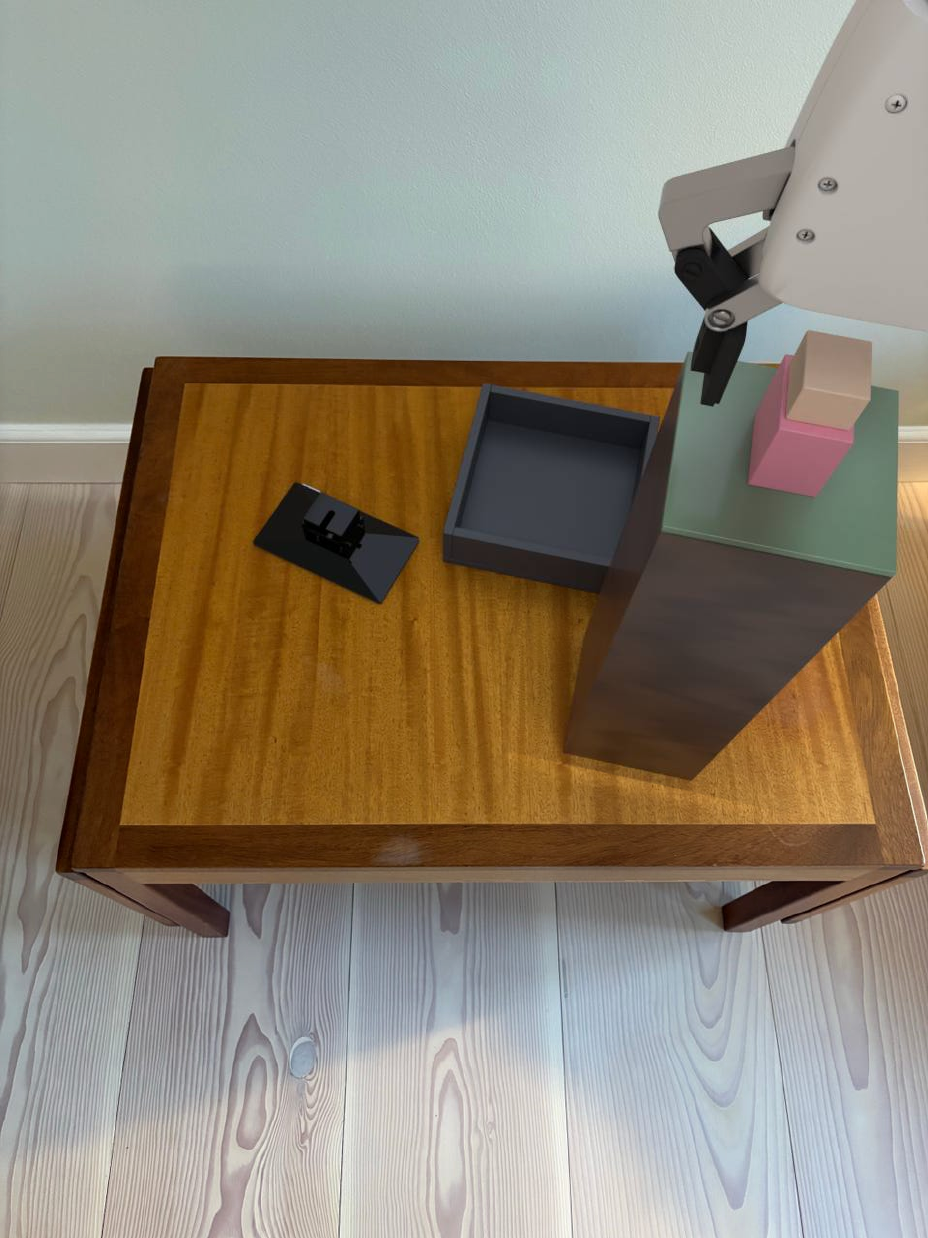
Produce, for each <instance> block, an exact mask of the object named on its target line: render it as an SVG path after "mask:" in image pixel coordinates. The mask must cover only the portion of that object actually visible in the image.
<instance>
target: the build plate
mask: <svg viewBox="0 0 928 1238" xmlns="http://www.w3.org/2000/svg"><path fill="white" fill-rule="evenodd" d="M252 543H253V545H254V547H256V548H259V549H260V550H264V551H265V552H267V553H269V554H272V555H274V556H275V557H278V558H280V559H282V560H284V561H287V563H288V562H289V563H291V564H292V565H295V566H296V567H299V568H301V569H303V570H305V571H308V572H309V573H312V574H314V575H316V576H317V577H321V578H322V579H324V580H327V581H328V582H330V583H332V584H334V585H337V586H339V587H341V588H343V589H345V590H348V591H350V592H352V593H353V594H356V595H359V596H361V597H363V598H365V599H366V600H369V601H371V602H373V603H375V604H378V605H381V604H383V602H384V601H385V599H386V597H387V595H388V594H389V592H390V591H391V589H392V587H393V586H394V584H395V582H396V581H397V579H398V578H399V576H400V574H401V572H402V571H403V569H404V568H405V566H406V565H407V563H408V561H409V559H410V558H411V556H412V555H413V553H414V551H415V550H416V548H417V546H418V544H419V543H420V537H419V536H417V535H414V534H413V533H410V532H409V531H406V530H404V529H401V528H399V527H397V526H394V525H393V524H390V523H388V522H386V521H384V520H381V519H380V518H377V517H375V516H373V515H371V514H368V513H366V512H363V511H361V510H360V509H359V508H357V507H355V506H353V505H350V504H348V503H346V502H343V501H342V500H340V499H338V498H335V497H333V496H330V495H328V494H326V493H324V492H322V491H320V490H319V489H316V488H314V487H312V486H310V485H307V484H306V483H300V482H297V481H296V482H293V484H292V485H291V487H290V488H289V490H288V491H287V492H286V493H285V495H284V496H283V498H282V499H281V501H280V502H279V504H278V505H277V506H276V508H275V509H274V511H273V512H272V513H271V515H270V516H269V517H268V519H267V521H266V522H265V523H264V525H263V526H262V528H261V529H260V530H259V532H258V533H257V534H256V536H255V538H254V539H253V541H252Z"/></svg>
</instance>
